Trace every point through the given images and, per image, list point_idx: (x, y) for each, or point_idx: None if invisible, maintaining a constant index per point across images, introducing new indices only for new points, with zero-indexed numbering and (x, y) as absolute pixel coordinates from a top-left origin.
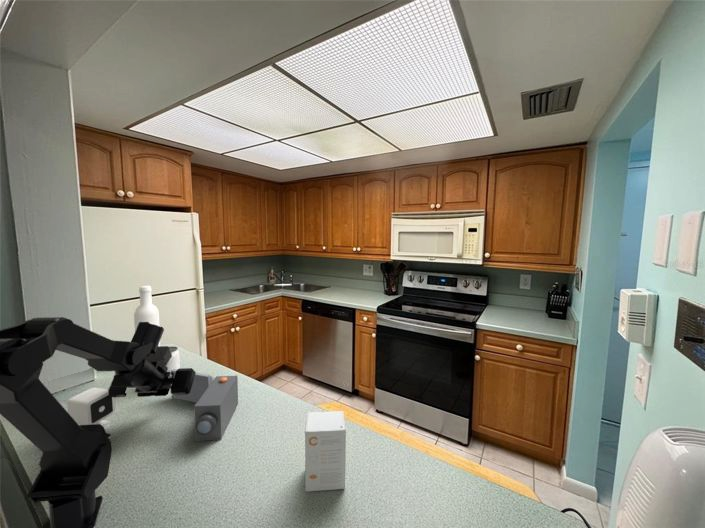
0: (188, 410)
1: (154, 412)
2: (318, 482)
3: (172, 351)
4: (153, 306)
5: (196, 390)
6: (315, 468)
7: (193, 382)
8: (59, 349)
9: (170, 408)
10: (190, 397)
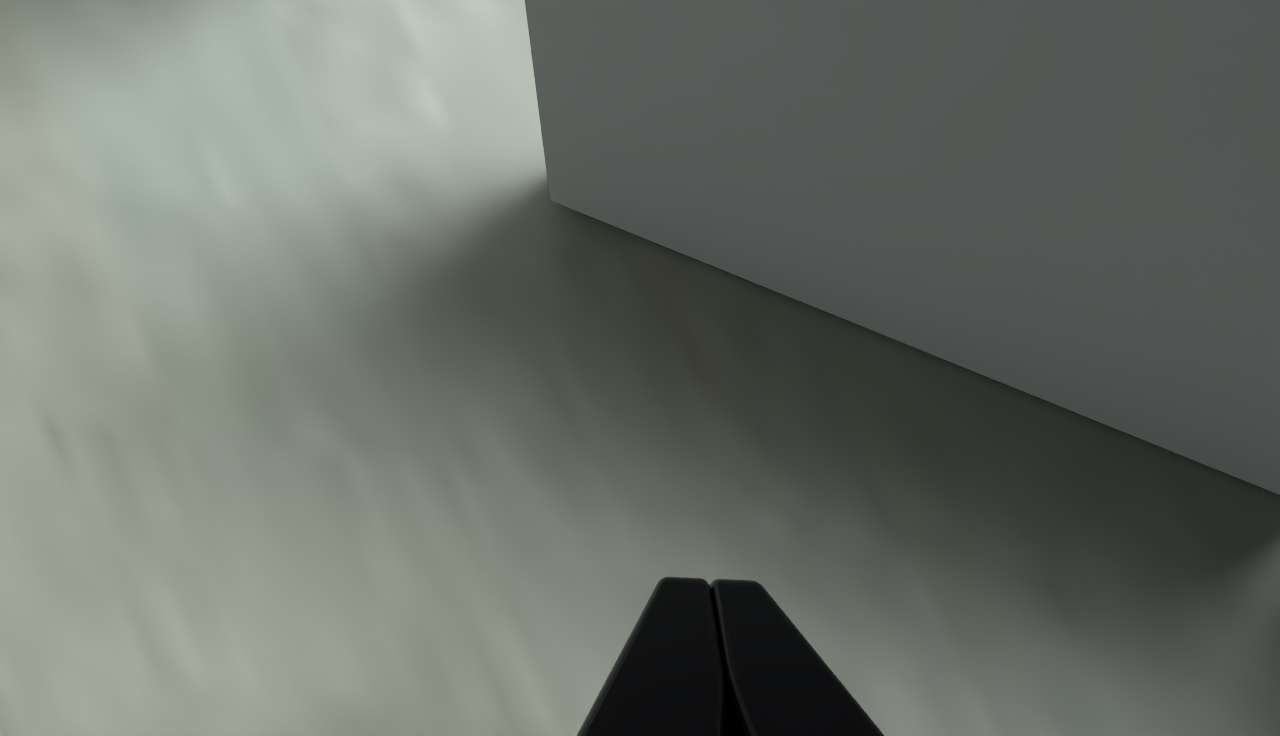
0: (1016, 622)
1: (425, 610)
2: None
3: None
4: None
5: (1216, 330)
6: None
7: (1273, 211)
8: None
9: (659, 516)
10: (960, 332)
